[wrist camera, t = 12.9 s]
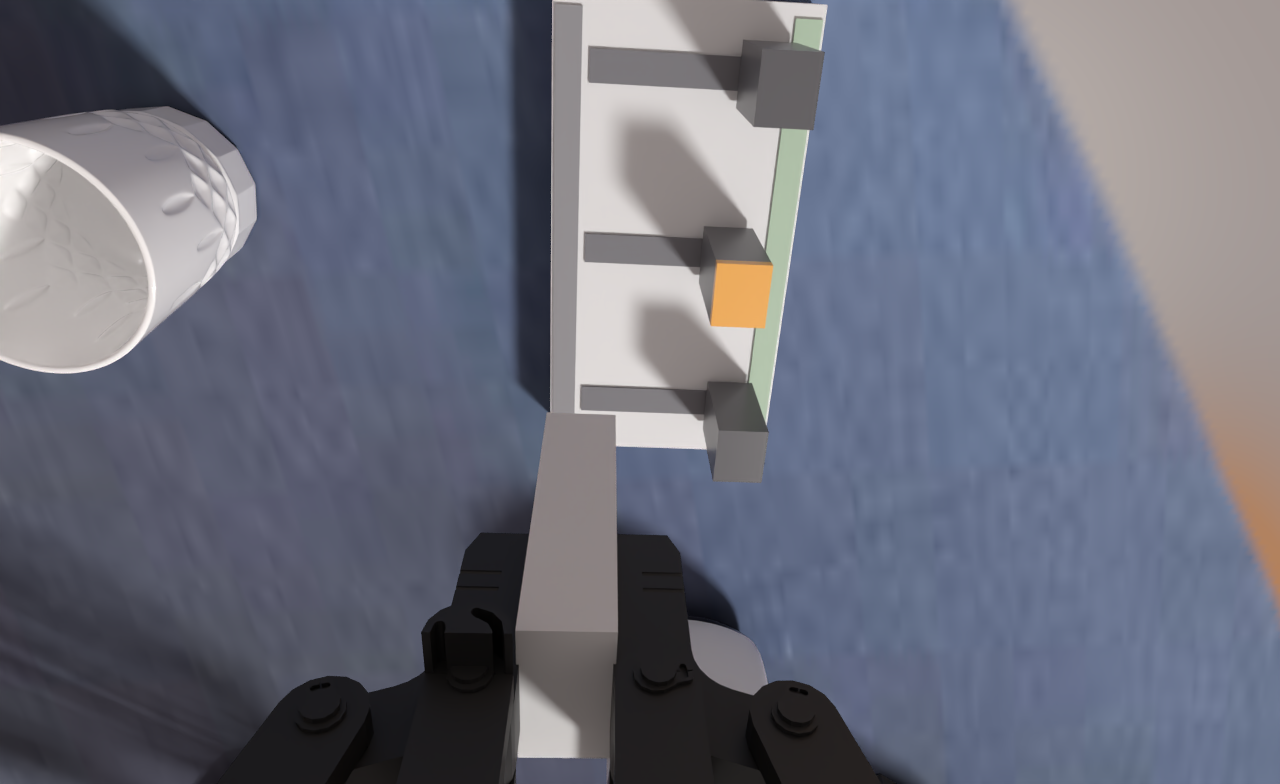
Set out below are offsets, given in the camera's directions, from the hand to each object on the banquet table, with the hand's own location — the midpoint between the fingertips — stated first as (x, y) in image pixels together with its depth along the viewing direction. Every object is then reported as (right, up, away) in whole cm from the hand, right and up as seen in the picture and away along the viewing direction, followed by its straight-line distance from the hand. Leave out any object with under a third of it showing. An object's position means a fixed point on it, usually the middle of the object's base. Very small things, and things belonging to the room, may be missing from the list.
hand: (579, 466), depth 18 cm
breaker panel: (+3, +9, +18) cm, 20 cm away
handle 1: (+5, +1, +18) cm, 19 cm away
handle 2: (+6, +14, +12) cm, 19 cm away
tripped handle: (+5, +7, +15) cm, 18 cm away
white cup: (-18, +10, +16) cm, 27 cm away
